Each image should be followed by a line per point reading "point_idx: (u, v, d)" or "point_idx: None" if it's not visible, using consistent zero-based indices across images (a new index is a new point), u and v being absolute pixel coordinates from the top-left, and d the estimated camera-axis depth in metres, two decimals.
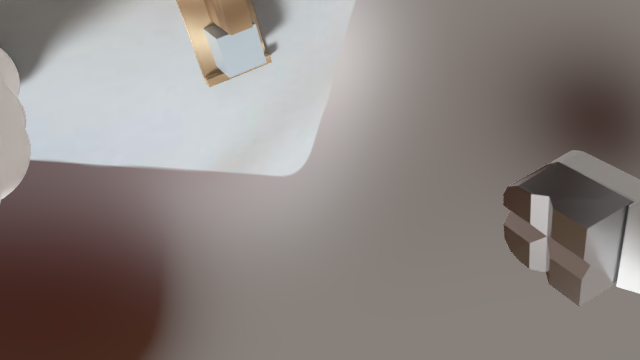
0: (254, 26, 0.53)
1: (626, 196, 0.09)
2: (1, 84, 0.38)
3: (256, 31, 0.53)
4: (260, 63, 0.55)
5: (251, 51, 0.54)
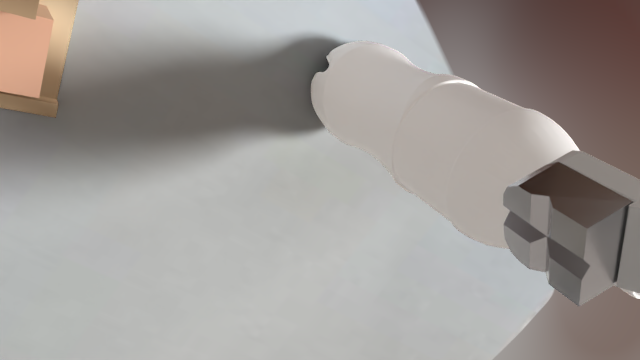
0: None
1: (626, 196, 0.09)
2: (393, 155, 0.31)
3: None
4: None
5: None
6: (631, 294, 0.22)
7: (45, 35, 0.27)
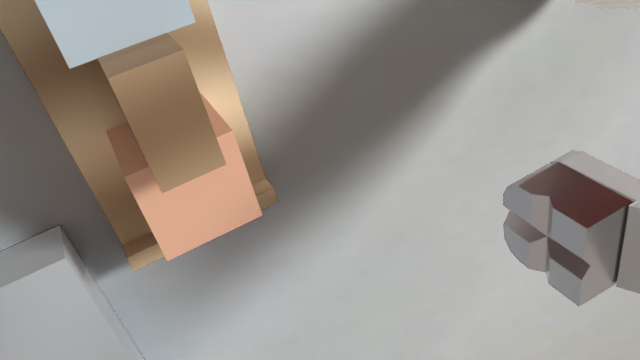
0: (72, 60, 0.16)
1: (626, 196, 0.09)
2: None
3: (62, 44, 0.16)
4: None
5: None
6: None
7: (233, 152, 0.20)
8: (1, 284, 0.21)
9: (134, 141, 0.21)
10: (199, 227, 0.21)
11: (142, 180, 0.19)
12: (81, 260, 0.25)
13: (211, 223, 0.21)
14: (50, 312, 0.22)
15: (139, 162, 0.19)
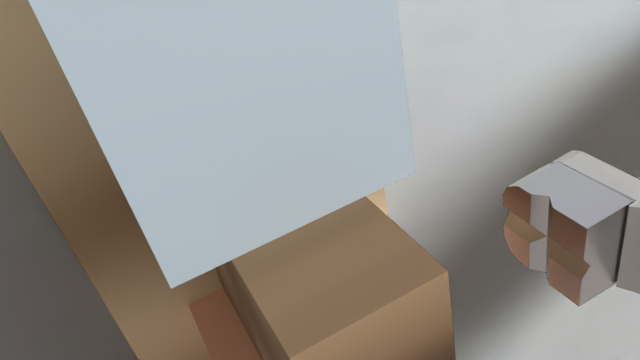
0: (178, 271, 0.08)
1: (626, 196, 0.09)
2: None
3: (161, 246, 0.07)
4: None
5: (198, 106, 0.07)
6: None
7: None
8: None
9: (246, 339, 0.12)
10: None
11: None
12: None
13: None
14: None
15: None
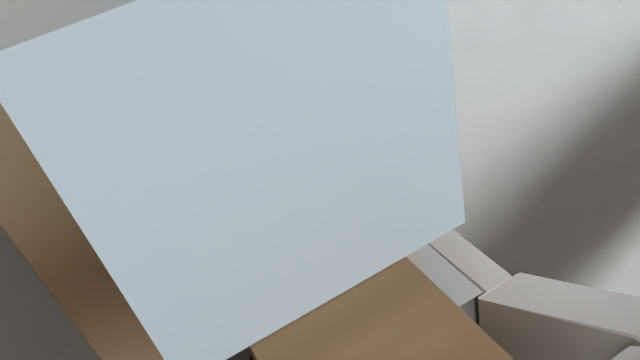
0: None
1: (478, 285, 0.08)
2: None
3: (167, 340, 0.06)
4: (76, 51, 0.04)
5: (207, 175, 0.05)
6: None
7: None
8: None
9: None
10: None
11: None
12: None
13: None
14: None
15: None
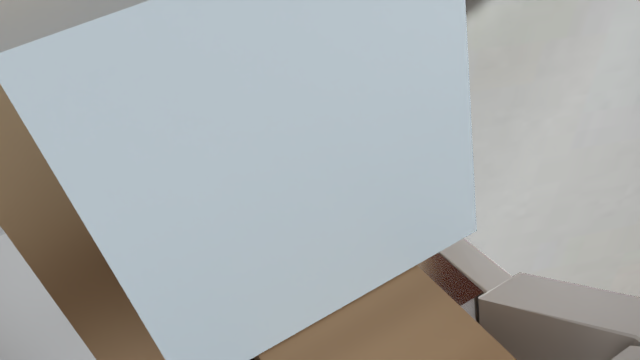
0: None
1: (478, 285, 0.08)
2: None
3: (174, 349, 0.06)
4: (90, 49, 0.04)
5: (220, 180, 0.05)
6: None
7: None
8: None
9: None
10: None
11: None
12: None
13: None
14: (29, 269, 0.24)
15: None
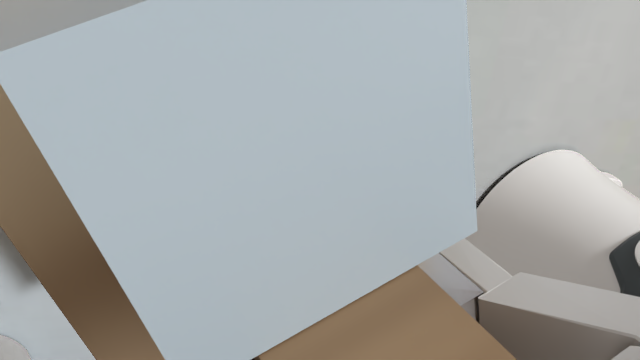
0: None
1: (478, 285, 0.08)
2: None
3: (174, 349, 0.06)
4: (90, 49, 0.04)
5: (220, 180, 0.05)
6: None
7: None
8: None
9: None
10: None
11: None
12: None
13: None
14: None
15: None
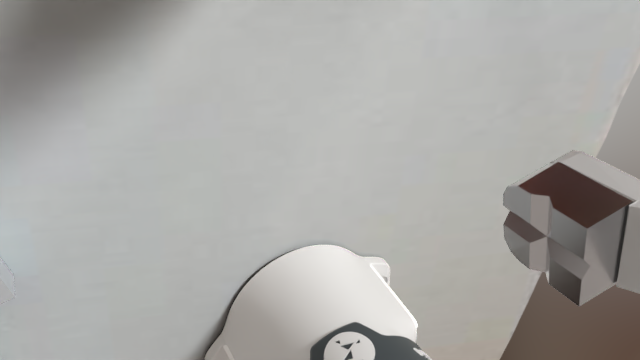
0: None
1: (626, 196, 0.09)
2: None
3: None
4: None
5: None
6: None
7: None
8: None
9: None
10: None
11: None
12: None
13: None
14: None
15: None
